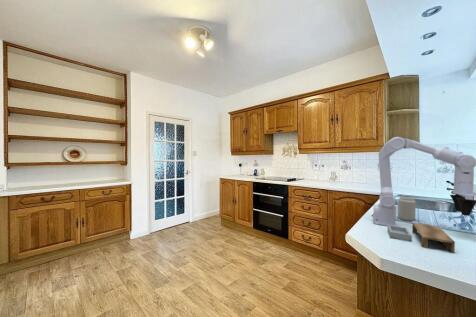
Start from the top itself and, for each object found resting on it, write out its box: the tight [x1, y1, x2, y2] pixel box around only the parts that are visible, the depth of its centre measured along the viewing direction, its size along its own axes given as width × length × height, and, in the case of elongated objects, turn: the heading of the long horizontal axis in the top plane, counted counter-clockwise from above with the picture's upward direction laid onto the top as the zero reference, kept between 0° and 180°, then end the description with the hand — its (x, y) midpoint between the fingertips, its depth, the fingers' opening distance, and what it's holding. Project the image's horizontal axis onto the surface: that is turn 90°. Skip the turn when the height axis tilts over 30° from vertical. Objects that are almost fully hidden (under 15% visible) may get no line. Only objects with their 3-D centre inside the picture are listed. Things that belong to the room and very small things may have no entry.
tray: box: [387, 225, 413, 243], centre depth 88 cm, size 7×10×3 cm
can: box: [397, 196, 417, 222], centre depth 111 cm, size 8×8×12 cm
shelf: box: [411, 222, 456, 254], centre depth 83 cm, size 9×18×4 cm, turn 149°
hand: (462, 213), depth 89 cm, fingers open, 7 cm apart
